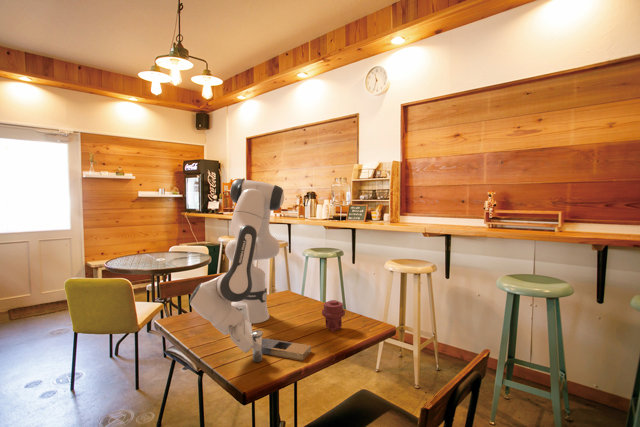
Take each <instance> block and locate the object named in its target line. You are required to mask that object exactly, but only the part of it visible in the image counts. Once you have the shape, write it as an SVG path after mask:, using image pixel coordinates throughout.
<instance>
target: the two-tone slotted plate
mask: <svg viewBox="0 0 640 427" xmlns="http://www.w3.org/2000/svg"><path fill="white" fill-rule="evenodd" d="M311 353H312V345H309V344H303V343H298V342H291V341H286V340H285V341H284V340H278V339H272V338H265V337H264V338H262V355H268V356H272V357H273V356H274V357H279V358H284V359H289V360H291V359H292V360H295V361H301V362H303V361H304V360H305V359H306V358H307V357H308V356H309V355H310V354H311Z"/></svg>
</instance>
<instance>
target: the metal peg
mask: <svg viewBox="0 0 640 427" xmlns="http://www.w3.org/2000/svg"><path fill="white" fill-rule="evenodd" d="M252 335H253V340H254V341H255V342H256V343H258V344H259V345H261V349H260V350H259V351H256V350H255V349H254V348H252V361H253V363H260V362H262V361H263V354H262V339H263V338H262V336H263V335H264V331H263V330H252Z"/></svg>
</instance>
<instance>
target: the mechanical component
mask: <svg viewBox="0 0 640 427" xmlns="http://www.w3.org/2000/svg"><path fill="white" fill-rule="evenodd" d="M321 315H322V316H323V317H324V318H325V327H326V328H327V329H329V330H330V332H331V333H335V332H336V331H338V330H341V328H342V325H343V324H342V322H343V320H342V319H343V317H344V316H345V315H346V310H345V309H344V303H343V302H341V301H338V300H336V299H332V300H331V299H330V300H329V301H326V302H324V303H323V309H322V310H321Z"/></svg>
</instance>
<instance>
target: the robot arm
mask: <svg viewBox="0 0 640 427" xmlns="http://www.w3.org/2000/svg"><path fill="white" fill-rule="evenodd" d="M229 194H230V200H231V201H232V202H233V203H235V204H236V205H235V207H234V209H233V213H232V217H231V222H230V233H231V234H232V236H233V237H234V239H231V240H229V241H228V242H227V243H226V245H225V249H224V251H225V255H226V258H227V259H228V260H229V261H230V262H231V264H230V267H229V269H228V271H227V272H224V273H221V275H219V276H217V277H215V278H213V279H210V280H208V281H205V282H200V283H199V284H198V285H197V286H196V287H195V289H194V290H193V291H192V293H191V295H190V297H189V304H190V306H191V308H192V309H193V310H195V312H196V313H197V314H199V316H200V317H202V318H203V319H205V320H206V321H208V322H210V324H212V326H213V327H214V328H215V329H216V330H218V331H219V332H220V333H222V334H223V335H224V336H227V335H228V334H229V338H230V340H231V341H232V343H233V344H234V345H236V347H237V348H239V349H240V350H241V352H243V353H245V354H247V353H249V351H251V350H252V349H253V348H254V349H255V350H256V351H259V350H260V349H261V345H259V344H258V343H256V342H255V341H254V340H253V335H252V332H253V326H252V324H259V323H263V322H266V321H268V320H269V319H270V314H269V310H268V304H267V298H268V296H267V295H268V294H267V293H268V291H267V287H266V285H267V284H266V273H265V271H264V270H263V269H262V268H259V267H257V266H255V265H254V261H262V260H269V259H272V258H275V257H277V256H278V254H279V252H280V250H281V249H280V246H281V245H280V243H279V241H278V239H276V238H275V237H274V236H273V235H272V233H271V232H270V231H271V230H270V218H271V211H278V210H279V209H280V208H281V207H282V205H283V203H284V201H285V194H284V189H283V188H282V187H281V186H280V185H279V186H278V185H276V184H275V185H274V184H270V183H268V182H265V181H258V180H257V181H256V180H250V179H245V178H237V179H234V181H233V182H232V184H231V187H230V189H229Z"/></svg>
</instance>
